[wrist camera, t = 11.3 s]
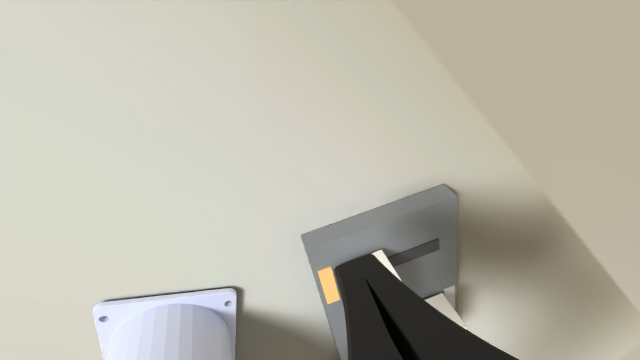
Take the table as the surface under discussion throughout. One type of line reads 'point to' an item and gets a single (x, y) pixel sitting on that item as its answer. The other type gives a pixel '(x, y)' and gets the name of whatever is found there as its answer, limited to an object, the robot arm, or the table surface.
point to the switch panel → (390, 250)
